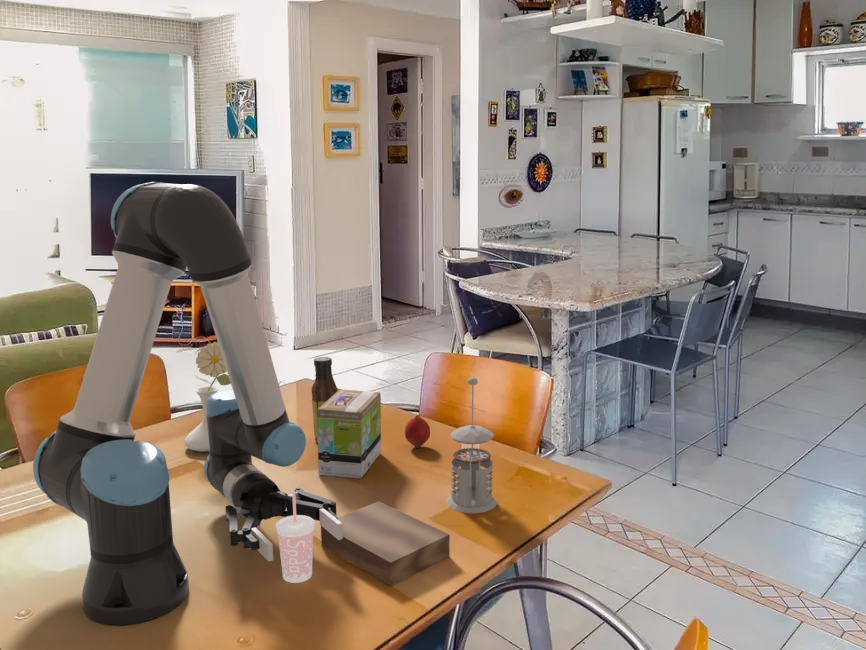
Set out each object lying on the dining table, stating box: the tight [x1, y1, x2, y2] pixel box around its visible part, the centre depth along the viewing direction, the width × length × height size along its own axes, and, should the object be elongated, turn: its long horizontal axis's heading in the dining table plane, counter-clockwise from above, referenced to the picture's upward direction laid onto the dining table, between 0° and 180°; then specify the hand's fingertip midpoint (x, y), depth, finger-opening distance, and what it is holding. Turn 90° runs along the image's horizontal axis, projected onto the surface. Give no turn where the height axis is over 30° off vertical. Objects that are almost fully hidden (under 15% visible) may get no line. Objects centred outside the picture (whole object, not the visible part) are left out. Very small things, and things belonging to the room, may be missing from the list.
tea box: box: [317, 389, 382, 479], centre depth 170 cm, size 15×10×15 cm, turn 168°
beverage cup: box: [275, 492, 316, 584], centre depth 125 cm, size 6×6×14 cm
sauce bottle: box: [311, 356, 339, 443], centre depth 183 cm, size 7×6×20 cm
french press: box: [446, 376, 498, 514], centre depth 149 cm, size 10×12×25 cm
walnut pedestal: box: [320, 500, 450, 587], centre depth 134 cm, size 13×18×4 cm
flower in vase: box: [183, 341, 231, 452], centre depth 179 cm, size 13×11×25 cm
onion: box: [404, 413, 431, 449], centre depth 180 cm, size 6×6×8 cm
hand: (306, 541), depth 122 cm, fingers open, 11 cm apart
